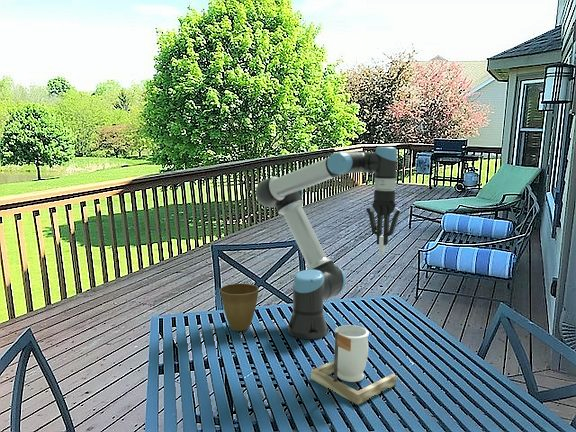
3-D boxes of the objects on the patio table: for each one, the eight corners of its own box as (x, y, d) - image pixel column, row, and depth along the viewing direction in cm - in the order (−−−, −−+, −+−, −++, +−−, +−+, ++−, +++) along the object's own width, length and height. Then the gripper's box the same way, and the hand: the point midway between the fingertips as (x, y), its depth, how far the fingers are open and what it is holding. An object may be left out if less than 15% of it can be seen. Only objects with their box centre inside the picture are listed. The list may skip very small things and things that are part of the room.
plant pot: (265, 324, 189) (265, 286, 187) (246, 337, 176) (246, 296, 174) (233, 318, 196) (233, 280, 193) (213, 330, 182) (212, 290, 180)
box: (348, 362, 157) (350, 311, 154) (395, 384, 143) (398, 328, 140) (311, 379, 146) (312, 323, 143) (357, 405, 132) (360, 344, 129)
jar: (372, 374, 149) (374, 329, 147) (357, 388, 141) (359, 340, 139) (343, 365, 155) (345, 321, 153) (327, 377, 147) (328, 331, 145)
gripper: (364, 189, 170) (361, 253, 174) (399, 191, 164) (396, 257, 168) (370, 188, 177) (368, 249, 181) (405, 190, 171) (401, 253, 174)
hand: (381, 253), depth 174 cm, fingers closed
